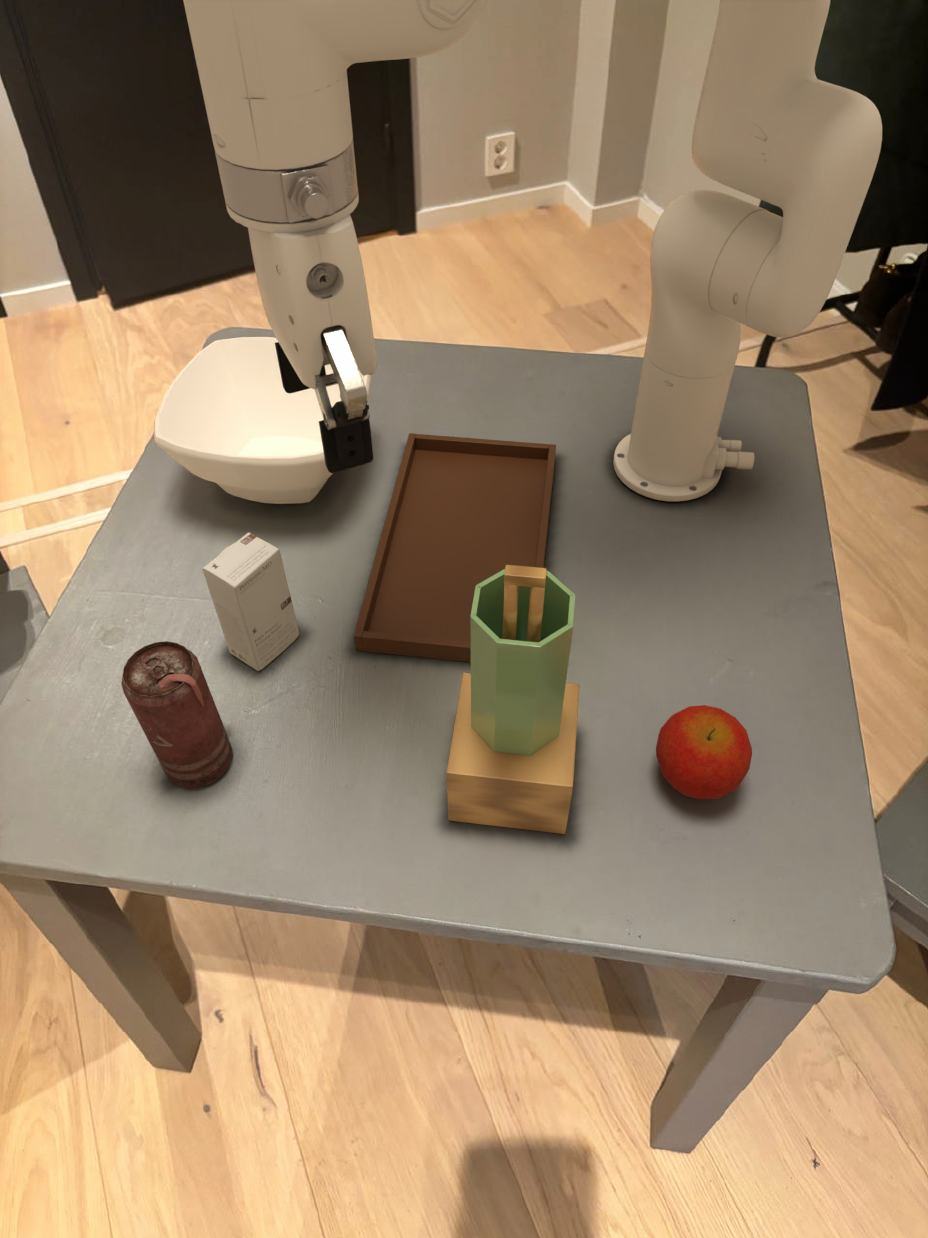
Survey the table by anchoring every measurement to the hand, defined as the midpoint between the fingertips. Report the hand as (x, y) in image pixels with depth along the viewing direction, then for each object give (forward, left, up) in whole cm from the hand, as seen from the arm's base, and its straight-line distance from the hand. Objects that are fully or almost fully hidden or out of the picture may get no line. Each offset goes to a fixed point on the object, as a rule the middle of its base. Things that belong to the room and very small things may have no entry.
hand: (326, 424), depth 63 cm
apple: (-31, +7, -31) cm, 44 cm away
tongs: (-15, +8, -14) cm, 22 cm away
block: (-15, +9, -31) cm, 35 cm away
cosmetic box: (+11, -3, -31) cm, 33 cm away
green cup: (-15, +8, -23) cm, 28 cm away
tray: (-7, -19, -31) cm, 37 cm away
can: (+13, +11, -31) cm, 35 cm away
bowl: (+16, -28, -31) cm, 45 cm away
